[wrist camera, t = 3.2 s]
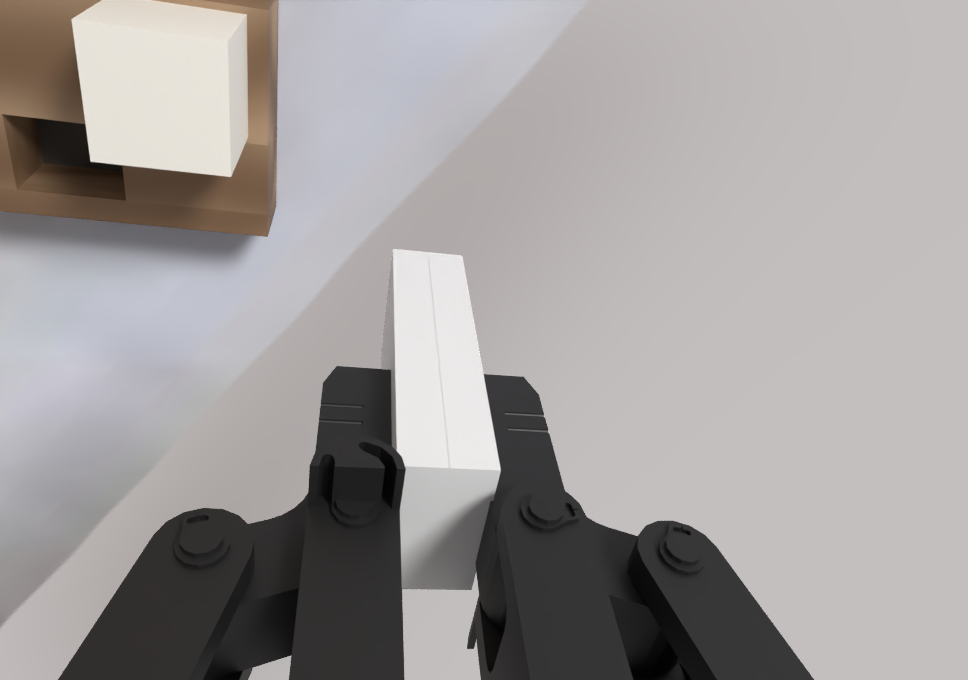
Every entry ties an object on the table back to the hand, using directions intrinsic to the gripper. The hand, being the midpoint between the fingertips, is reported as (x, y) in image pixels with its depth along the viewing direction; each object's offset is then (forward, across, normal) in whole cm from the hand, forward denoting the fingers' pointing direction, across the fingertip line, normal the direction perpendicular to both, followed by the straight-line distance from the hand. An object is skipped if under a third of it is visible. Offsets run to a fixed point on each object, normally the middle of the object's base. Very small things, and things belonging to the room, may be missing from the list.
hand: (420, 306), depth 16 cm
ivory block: (+15, -8, 0) cm, 17 cm away
